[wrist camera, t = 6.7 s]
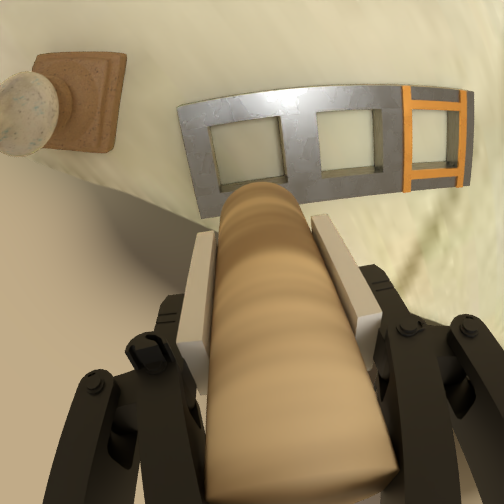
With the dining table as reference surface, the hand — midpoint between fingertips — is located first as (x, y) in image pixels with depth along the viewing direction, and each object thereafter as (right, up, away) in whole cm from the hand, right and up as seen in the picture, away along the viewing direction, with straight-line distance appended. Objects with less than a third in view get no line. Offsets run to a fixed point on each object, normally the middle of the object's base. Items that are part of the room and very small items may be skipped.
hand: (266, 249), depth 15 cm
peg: (0, +2, +3) cm, 3 cm away
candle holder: (-20, +17, +13) cm, 29 cm away
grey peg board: (+9, +12, +17) cm, 23 cm away
